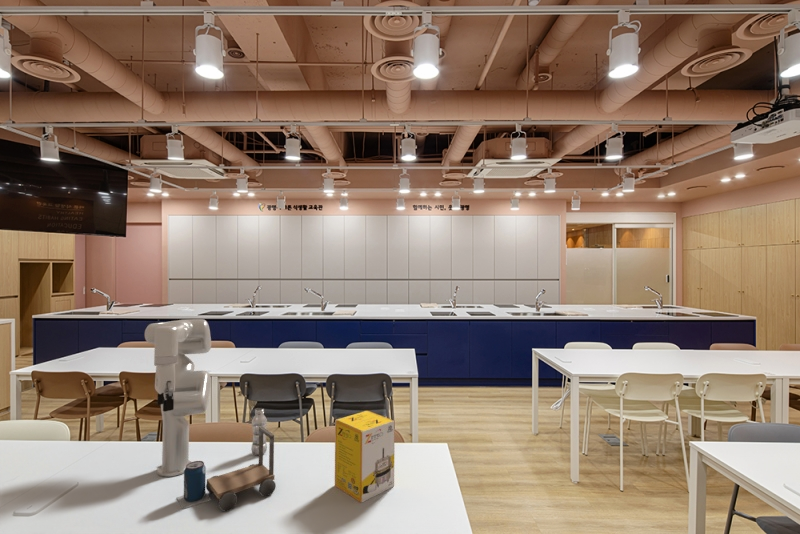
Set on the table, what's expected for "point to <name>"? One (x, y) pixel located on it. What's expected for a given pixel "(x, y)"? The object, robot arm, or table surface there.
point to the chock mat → (188, 504)
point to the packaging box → (364, 454)
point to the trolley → (245, 477)
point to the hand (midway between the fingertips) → (165, 407)
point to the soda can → (194, 481)
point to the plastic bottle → (258, 422)
